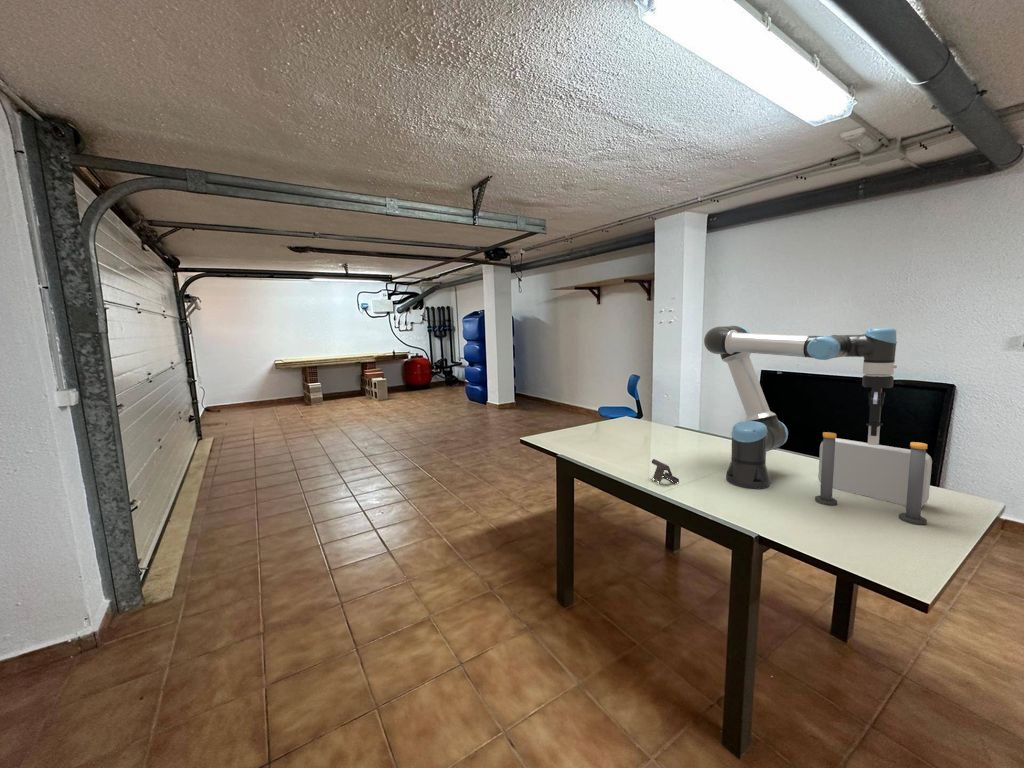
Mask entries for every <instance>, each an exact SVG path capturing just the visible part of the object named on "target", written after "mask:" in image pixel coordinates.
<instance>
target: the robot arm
mask: <svg viewBox="0 0 1024 768" xmlns="http://www.w3.org/2000/svg"><path fill="white" fill-rule="evenodd" d="M897 343H898V342H897V330H896V329H895V328H893V327H882V328H876V327H875V328H867V329H865V332H864V334H832V335H806V334H805V335H804V334H803V335H800V334H777V333H756V332H752V333H751V332H750V331H749V330H748V329H747V328H745V327H743V326H738V325H728V326H725V325H724V326H714V327H713V328H711V329H709V330H708V331H707V332H706V334H705V336H704V338H703V344H704V346H705V349H706V350H707V351H708V352H709V353H712V354H713V355H714V354H715V355H719V356H720V358H721V360H722V362H724V363H726V364H727V366H728V369H729V371H730V374H731V377H732V380H733V382H734V385H735V387H736V391H737V393H738V396H739V399H740V401H741V405H742V406H743V409H744V412H745V416H746V418H745V420H744V421H740V422H736V423H735V424H734V425H733V426H732V428H731V429H732V430H731V460H730V464H729V466H728V467H727V468H728V469H727V471H726V472H725V480H726V482H728V483H730V484H731V485H734V486H738V487H740V488H741V487H742V488H746V489H747V488H748V489H765V488H769V487H770V486H771V477H770V474H769V471H768V468H767V465H766V464H767V463H766V462H767V452H770V451H772V450H776V449H778V448H781V446H783V445H784V444H786V442H787V441H788V436H789V430H788V428H787V426H786V425H785V424H784V423H783V422H781V421H780V420H779V419H778V415H777V414H776V413H775V412H773V411H771V410H770V407H769V404H768V402H767V400H766V397H765V394H764V392H763V388H762V386H761V383H760V381H759V379H758V376H757V373H756V370H755V368H754V364H753V363H752V360H751V358H750V357H751V355H752V354H757V355H758V354H759V355H773V356H787V357H799V358H810V359H815V360H819V361H820V360H824V361H825V360H826V361H827V360H828V361H829V360H831V359H835V358H843V357H844V358H846V357H847V358H849V357H850V358H863V364H862V374H863V376H862V379H861V380H862V382H861V385H862V387H864V388H871V391H868V394H867V398H868V406H869V413H868V414H869V418H868V423H866V424H865V426H867V427H868V434H867V443H868V445H876V446H878V445H880V433H881V432H880V430H881V426H883V425H884V424H883V423H881V421H882V420H881V414H882V407H883V406H884V401H885V400H884V399H885V396H886V392H884V391H883V389H889V388H891V389H892V388H893V387H894V379H895V378H894V376H893V375H894V372H895V369H898V366H897V365H896V364H895V361H896V359H895V358H896V350H897V349H896V348H897Z"/></svg>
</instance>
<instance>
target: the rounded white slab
mask: <svg viewBox="0 0 1024 768" xmlns="http://www.w3.org/2000/svg"><path fill="white" fill-rule="evenodd" d="M910 452H911V449H908V448H901V447H896V446H895V447H894V446H889V445H882V444H879V445H878V446H876V445H868V442H864V441H857V440H850V439H844V438H837V437H836V438H835V455H834V473H833V489H834V490H839V491H842V492H843V491H844V492H848V493H852V494H856V495H861V496H864V497H868V498H872V499H877V500H881V501H884V502H885V501H886V502H889V503H893V504H897V505H902V506H905V507H906V502H907V490H908V477H909V465H910ZM822 453H823V441H821V443H820V445H819V456H818V457H819V459H818V461H819V462H818V477H817V478H818V482H819V483H820V484H821V471H822ZM932 464H933V459H932V457H931V456H930V455H929V454H928V452H926V457H925V469H924V481H923V493H922V505H921V507H924V506H925V504H927V502H928V500H929V498H930V486H931V478H932V477H931V475H932Z"/></svg>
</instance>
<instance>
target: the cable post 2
mask: <svg viewBox="0 0 1024 768" xmlns="http://www.w3.org/2000/svg"><path fill="white" fill-rule="evenodd" d="M909 448H910V450H911V452H910V465H909V477H908V490H907V502H906V506H905V512H902V513H901V512H900V513H899V514H898V519H899V520H900V521H903V522H905V523H908V524H912V525H916V526H925V525H927V524H928V520H927V518H926V517H923V516H922V514H921V513H922V506H921V505H922V493H923V481H924V469H925V457H926V453H927V450H928V444H927V443H924V442H919V441H918V442H917V441H916V442H915V441H911V442H910V444H909Z"/></svg>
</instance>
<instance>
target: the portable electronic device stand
mask: <svg viewBox="0 0 1024 768" xmlns="http://www.w3.org/2000/svg"><path fill="white" fill-rule="evenodd" d="M651 464H652V465H654V466H656V469H655V472H654V474H653V476H652V479H653V478H654V479H655V481H656V482H657V481H659V482H660V483H661V481H662V479H663V478H664V477H666V478H668V479H670V480H672V481H673V482H674V483H673V482H672V483H673V484H675V483H677V482H679V483H680V480H679V478H678V477H676V476H674V475H673V473H672V472H671V469H670V466H669V465H667V464H666V463H663V462H661V461H659V460H657V459H655V458H653V459H652V460H651ZM662 476H664V477H662ZM666 478H665V479H666ZM668 479H667V480H668ZM670 480H669V481H670Z"/></svg>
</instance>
